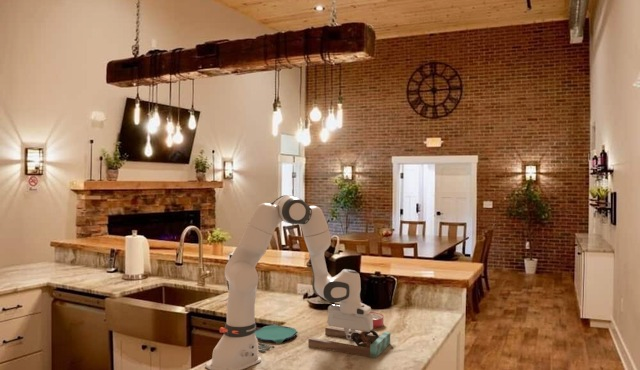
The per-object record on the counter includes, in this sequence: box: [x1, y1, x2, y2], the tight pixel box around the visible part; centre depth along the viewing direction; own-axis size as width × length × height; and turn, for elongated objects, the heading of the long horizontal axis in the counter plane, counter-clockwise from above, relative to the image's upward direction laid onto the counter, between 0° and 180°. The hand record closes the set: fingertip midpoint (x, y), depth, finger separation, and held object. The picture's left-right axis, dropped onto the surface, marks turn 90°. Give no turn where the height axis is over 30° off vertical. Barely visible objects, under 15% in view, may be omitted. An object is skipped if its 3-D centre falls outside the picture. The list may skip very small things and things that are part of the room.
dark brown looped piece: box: [350, 329, 379, 348], centre depth 212 cm, size 12×10×8 cm
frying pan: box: [370, 311, 384, 329], centre depth 235 cm, size 32×13×6 cm, turn 157°
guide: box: [307, 326, 391, 359], centre depth 215 cm, size 19×30×5 cm, turn 64°
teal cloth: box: [255, 324, 298, 353], centre depth 221 cm, size 20×30×2 cm, turn 151°
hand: (349, 338), depth 215 cm, fingers closed
